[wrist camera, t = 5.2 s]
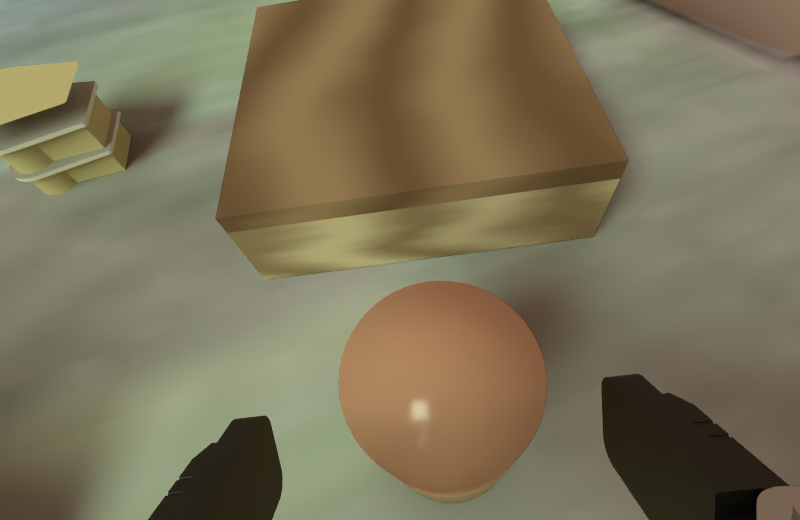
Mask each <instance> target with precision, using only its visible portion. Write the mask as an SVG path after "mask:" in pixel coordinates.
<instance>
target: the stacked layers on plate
mask: <svg viewBox="0 0 800 520" xmlns="http://www.w3.org/2000/svg"><path fill="white" fill-rule="evenodd" d="M78 63H79V62H67V63H55V64H44V65H33V66H21V67H10V68H5V69H1V70H0V157H1V158H2V159H3V160H5V161H6V162H7V163H8V164H10V173H11V175H12V176H13V177H15V178H16V179H17V180H19V181H22V182H32V183H33V184H35V185H36V186H37V187H38V188H40V189H41V190H42V191H43V192H45V193H46V194H49V195H56V194H60V193H63V192H65V191H67V190H69V189H71V188H72V187H73V186H74V185H76V184H77V183H78V182H81V181H85V180H89V179H93V178H97V177H100V176H104V175H108V174H112V173H116V172H120V171H123V170H126V164H127V158H128V152H129V146H130V140H131V135H130V134H129V133H128V132H127V131H126V129H125V128H124V127H123V126H122V125H121V124H120V122H119V121H120V116H121V113H120V112H119V110H117V109H116V110H109V109H108V108H107V107H106V106H105V105H104V104H103V102H102V101H101V100H100V99H99V98H98V96H97V95H96V92H97V88H98V85H97V84H96V83H95V82H94V81H90V82H78V83H72V82H73V79H74V76H75V72H76V69H77V66H78Z"/></svg>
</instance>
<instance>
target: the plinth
mask: <svg viewBox="0 0 800 520" xmlns="http://www.w3.org/2000/svg"><path fill="white" fill-rule="evenodd" d="M628 161H629V159H628V157H627V155H626V153H625V151H624V149H623V148H622V146H621V144H620V142H619V140H618V138H617V136H616V134H615V132H614V130H613V128H612V126H611V124H610V122H609V120H608V118H607V116H606V115H605V113H604V111H603V109H602V107H601V105H600V103H599V101H598V99H597V97H596V95H595V93H594V91H593V89H592V87H591V85H590V84H589V82H588V80H587V78H586V76H585V74H584V72H583V70H582V68H581V66H580V64H579V62H578V60H577V58H576V56H575V54H574V52H573V51H572V49H571V47H570V45H569V43H568V41H567V39H566V37H565V35H564V33H563V31H562V29H561V27H560V25H559V23H558V21H557V19H556V18H555V16H554V14H553V12H552V10H551V8H550V6H549V4H548V2H547V0H298V1H292V2H286V3H281V4H275V5H269V6H263V7H257V11H256V16H255V21H254V26H253V31H252V36H251V41H250V46H249V51H248V56H247V61H246V66H245V71H244V76H243V81H242V86H241V92H240V97H239V102H238V107H237V112H236V117H235V122H234V127H233V132H232V137H231V142H230V147H229V152H228V157H227V162H226V167H225V173H224V178H223V183H222V188H221V193H220V198H219V203H218V208H217V213H216V218H215V219H216V220H217V221H218V222H219V224H220V225H221V226H222V227H223V229H224V230H225V231H226V232H227V233H228V235H229V236H230V237H231V238H232V240H233V241H234V242H235V243H236V245H237V246H238V247H239V248H240V250H241V251H242V252H243V253H244V255H245V256H246V257H247V258H248V260H249V261H250V262H251V263H252V264H253V266H254V267H255V268H256V269H257V271H258V272H259V273H260V274H261V276H262V277H263V278H264V279H265V280H267V279H274V278H282V277H290V276H297V275H305V274H312V273H320V272H328V271H335V270H343V269H351V268H358V267H366V266H373V265H381V264H389V263H396V262H404V261H411V260H419V259H427V258H434V257H442V256H450V255H457V254H465V253H472V252H480V251H488V250H495V249H503V248H511V247H518V246H526V245H533V244H541V243H549V242H556V241H564V240H571V239H579V238H587V237H593V236H594V234H595V232H596V230H597V228H598V225H599V223H600V221H601V219H602V217H603V215H604V213H605V210H606V208H607V206H608V204H609V202H610V200H611V197H612V195H613V193H614V191H615V189H616V187H617V185H618V182H619V180H620V178H621V176H622V174H623V172H624V170H625V167H626V165H627V163H628Z"/></svg>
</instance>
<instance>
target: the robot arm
mask: <svg viewBox="0 0 800 520" xmlns="http://www.w3.org/2000/svg"><path fill="white" fill-rule="evenodd" d="M602 415H603V438H604V444H605V448H606V451H607V454H608V457H609V459H610V461H611V463H612V465H613V467H614V468H615V470H616V471H617V473H618V474H619V476H620V477H621V479H622V480H623V482H624V483H625V485H626V486H627V488H628V489H629V491H630V492H631V494H632V495H633V497H634V498H635V499H636V501H637V502H638V504H639V505H640V507H641V508H642V510H643V511H644V513H645V514H646V516H647V517H648V519H649V520H800V487H793V486H789V485H788V484H787V483H785V482H784V481H783V480H782V479H781V478H780V477H778V476H777V475H776V474H775V473H774V472H773V471H771V470H770V469H769V468H768V467H767V466H765V465H764V464H763V463H762V462H761V461H760V460H758V459H757V458H756V457H755V456H754V455H753V454H751V453H750V452H749V451H748V450H747V449H745V448H744V447H743V446H742V445H741V444H740V443H738V442H737V441H736V440H735V439H734V438H733V437H731V438H730V437H729V436H728V433H727V432H725V431H724V430H723V429H722V428H721V427H720V426H718V425H717V424H714V423H713V421H712V420H711V419H710V418H709V417H708V416H707V415H705V414H704V413H703V412H702V411H701V410H700V409H698V408H697V407H696V406H695V405H693V404H691V403H689V402H687V401H685V400H683V399H681V398H679V397H677V396H675V395H672V394H670V393H665V394H661V393H660V392H659V391H658V390H657V389H656V388H655V387H654V386H653V385H652V384H650V383H649V382H648V381H647V380H646V379H645V378H644V377H643V376H642V375H640V374H630V375H622V376H613V377H605V378H604V379H603V381H602ZM281 492H282V470H281V465H280V461H279V457H278V452H277V448H276V444H275V440H274V435H273V431H272V427H271V423H270V420H269V419H268V417H267V416H257V417H248V418H239V419H234V420H233V421H232V422H231V423H230V425H229V426H228V427H227V429H226V430H225V432H224V433H223V435H222V436H221V438H220V439H219V441H218V442H217V443H211V444H210V445H209V446H208V447H207V448H205V449H204V450H203V451H202V452H200V453H199V454H198V455H197V456H196V457H194V458H193V459H192V460H191V462H190V463H189V464H188V466H187V467H186V468H185V470H184V471H183V473H182V474H181V475H180V477H179V480H177V481H176V482H175V484H174V485H173V486H172V488H171V489H170V490H169V492H168V496H165V497H164V499H163V500H162V501H161V503H160V504H159V505H158V507H157V508H156V510H155V511H154V512H153V514H152V515H151V516H150V518H149V519H148V520H272V518H273V516H274V513H275V510H276V508H277V505H278V503H279V500H280V497H281Z"/></svg>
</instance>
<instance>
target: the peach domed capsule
mask: <svg viewBox="0 0 800 520" xmlns="http://www.w3.org/2000/svg"><path fill="white" fill-rule="evenodd" d="M339 396H340V401H341V406H342V411H343V414H344V417H345V419H346V422H347V425H348V427H349V429H350V431H351V433H352V435H353V436H354V438H355V439H356V441H357V442H358V444H359V445H360V447H361V448H362V449H363V450H364V451H365V452H366V453H367V455H368V456H369V457H370V458H371V459H372V460H373V461H375V462H376V463H377V464H378V465H379V466H381V467H382V468H383V469H385V470H386V471H387V472H389V473H390V474H392V475H393V476H395V477H396V478H397V479H399V480H400V481H402V482H403V483H405V484H406V485H407V486H409V487H410V488H412V489H413V490H414V491H416V492H417V493H419V494H421V495H422V496H424V497H426V498H428V499H430V500H433V501H437V502H440V503H448V504H454V503H463V502H467V501H470V500H473V499H475V498H477V497H479V496H481V495H482V494H484V493H485V492H487V491H488V490H489V489H490V488H491V487H492V486H493V485H494V484H495V483H496V482H497V481H498V480H499V479H500V477H501V476H502V475H503V474H504V473H505V472H506V471H507V470H508V468H509V467H510V466H511V465H512V464H513V463H514V462H515V461H516V460H517V458H518V457H519V456H520V455H521V454H522V453H523V451H524V450H525V449H526V447H527V446H528V445H529V443H530V442H531V440H532V439H533V437H534V435H535V433H536V431H537V430H538V427H539V425H540V422H541V419H542V417H543V413H544V408H545V404H546V396H547V376H546V369H545V364H544V359H543V356H542V353H541V350H540V347H539V345H538V343H537V341H536V339H535V337H534V335H533V333H532V332H531V330H530V329H529V327H528V326H527V324H526V323H525V322H524V321H523V319H522V318H521V317H520V316H519V315H518V314H517V313H516V312H515V311H514V310H513V309H512V308H511V307H510V306H509V305H508V304H506V303H505V302H503V301H502V300H501V299H499V298H498V297H496V296H494V295H492V294H491V293H489V292H487V291H485V290H482V289H480V288H477V287H474V286H471V285H467V284H464V283H457V282H449V281H434V282H425V283H419V284H415V285H412V286H408V287H405V288H403V289H401V290H398V291H396V292H394V293H392V294H390V295H389V296H387V297H385V298H384V299H382V300H381V301H380V302H378V303H377V304H376V305H374V306H373V307H372V308H371V309H370V310H369V311H368V312H367V313H366V314H365V315H364V316H363V318H362V319H361V320H360V321H359V323H358V324H357V325H356V327H355V329H354V330H353V332H352V333H351V335H350V337H349V340H348V342H347V344H346V346H345V349H344V352H343V355H342V359H341V365H340V370H339Z"/></svg>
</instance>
